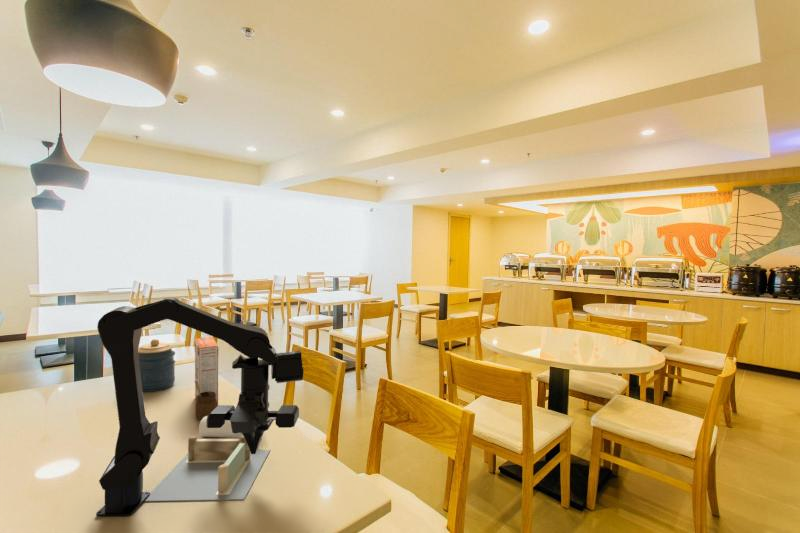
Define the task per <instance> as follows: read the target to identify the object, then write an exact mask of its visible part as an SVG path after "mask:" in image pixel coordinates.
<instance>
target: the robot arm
mask: <svg viewBox="0 0 800 533" xmlns="http://www.w3.org/2000/svg"><path fill="white" fill-rule="evenodd" d="M165 320H170V321H172V322H175V323H178V324H179V325H182V326H186V327H188V328H190V329H192V330H195V331H197V332H198V331H199V332H201V333H203V334H206V335H209V336H211V337H213V338H216V339H219V340H221V341H223V342H225V343H227V344H228V345H229V346H230V347H231V348H234V349H235V350H236V351H238V352H239V353H240V354H239V355H238V357H237V358H236V359H235V360H233V361H232V364H231V367H232V369H233V370H235V369H240V370H241V371H240V380H241V381H240V393H239V394H238V395H239V396H238V402H237V404H236V407H235V406H234V404H233V405H232V404H229V405H227V404H226V405H225V404H223V405H219V404H218V406H217V407H216V408H215V409H214V410H213V411H212V412H211V413H210V414H209V415H208V417H207V428H221V427H222V426H223V425H224V424H225V420H230V422H231V428H232V432H233V433H242V434H243V436H244V437H245V439H246V442H247V444H248V447H249V449H250V452H251V454H256V452H257V450H259V446H260V443H261V441H262V438H263V435H264V433H265V432H266V431H268V430H269V429H270V427H271V425H272V424H273V422H274V421H275V425H276V426H277V427H278V428H285V429H286V428H294V427H295V425H296V423H297V421H298V419H299V416H300V408H299V407H298V406H297V405H296V404H289V405H288V404H285V405H284V404H282V405H281V406H280V407H279V409H278V410H272V409H269V408H270V402H269V390H270V384H269V377H270V376H271V380H274V382H276V384H281V383H283V384H284V383H291V382H300V381H303V380H304V367H303V359H302V352H301V351H300V350H294V351H293V350H292V351H288V352H277V351H276V348H275V347H273V346H272V345H271V343H270V339H269V336H268V332H267V331H266V330H265V329H263V328H262V327H257V326H254V325H249V324H245V323H244V324H243V323H237V322H232V321H231V320H227V319H224V318H222V317H220V316H217V315H215V314H214V313H213V314H212V313H210V312H208V311H205V310H203V309H200V308H198V307H196V306H193V305H190V304H187V303H186V302H183V301H181V300H180V299H179V298H176V297H174V296H168V297H166V298H164V299H162V300H158V301H155V302H151V303H146V304H143V305H140V306H136V307H133V306H130V305H129V306H120V307H116V308H115V309H113V310H111V311H109V312H106V313H105V314H103V315H102V317H101V318H100V319H99V320H98V322H97V331H98V335H99V337H100V340H101V343H102V346H103V347H104V348H105V350H106V351H107V352H106V353H108V355H109V356H110V359H111V368H112V375H113V383H114V390H115V401H116V407H117V408H116V409H117V417H118V424H119V425H118V426H119V428H118V429H119V430H118V435H117V439H116V443H115V449H114V456H113V457H112V459H111V460H110V462H109V464H108V465H107V467H106V469H105V471H104V472H103V473H102V475H101V476H100V479H99V480H98V482H99V485H100V487H101V489H102V490H104V505H102V507H101V508H100V509H99V510H98V511H97V512H96V513H95V514H96V515H95V516H96V517H122V516H123V517H128V516H132V515H133V514H134V513H135V511H137V510H138V508H139V507H140V506H141V505H142V504H143V503H145V502H144V501H145V500H146V499H147V497H148V496H149V495H150V493H151V491H143V489H144V474H143V473H144V472H143V470H144V469H145V468H146V467H147V465H149V462H150V460H151V458H152V455H154V453H155V450H156V448H157V446H158V443H159V441H160V439H161V437H160V436H159V434H158V425H159V424H158V420H156V421H153V422H150V421H149V420H148V418H147V417H146V411H145V410H146V409H145V401H144V392H143V391H142V382H141V373H140V365H139V356H138V348H140V347H139V346H140V342H141V337H142V331H143V328H145V327H148V326H151V325H154V324H156V323H158V322H159V323H160V322H161V321H165ZM242 354H243V355H244V356H246V357H244V356H243V355H242ZM269 369H270V370H269ZM269 371H271V373H269ZM269 374H271V375H270V376H269Z"/></svg>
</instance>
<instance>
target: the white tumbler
mask: <svg viewBox="0 0 800 533" xmlns="http://www.w3.org/2000/svg"><path fill="white" fill-rule="evenodd" d="M207 417H208V416H205V417H203V418H202V420H200V422H199V425H198V433H199V436H200V437H203V438H221V439H240V436H242V435H243V434H242V433H233V432H232V428H231V422H230V420H225V424H224V425H223V426H222V427H221V428H207Z"/></svg>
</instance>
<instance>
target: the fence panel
mask: <svg viewBox="0 0 800 533" xmlns="http://www.w3.org/2000/svg"><path fill="white" fill-rule="evenodd" d="M244 462H245V443H240V444H239V445H238V446H237V447H236V449H235V450H234V451H233V453H232V454H231V455H230V457H229V458H228V459H227V461H226V462H225V463H224V465H220V466H219V467H218V492H220V493H222V492H225V491H226V490H227V487H228V485H229V484H230V482H231V481H232V480H233V478H234V477H235V475H236V474H237V472H238V471H239V469H240V468H241V466H242V465H243V463H244Z"/></svg>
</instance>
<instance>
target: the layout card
mask: <svg viewBox="0 0 800 533" xmlns="http://www.w3.org/2000/svg"><path fill="white" fill-rule="evenodd" d="M270 452H271V449H257V452H256V454H251V452H250V459H249V460H247V461H245V462H244V463H243V465H242V466H241V468H240V469H239V471H238V472H237V474H236V475H235V477H234V478H233V480H232V481H231V482H230V484H229V485H228V487H227V490H226V491H225V492H222V493H220V492H218V467H219V466H220V465H224V463H225V462H226V461H227V460H203V461H188V453H186V454H185V455H184V457H183V458H182V459H180V461H179V462H178V463H177V464H176V465H175V466H174V467H173V469H171V470H170V472H168V474H167V475H165V477H164V478H162V480H161V481H160V482H159V484H157V485H156V487H155V488H154V489H153V490H152V491H150V495H149V496H148V497H147V499H146V500H145V501H144V502H143V503H148V502H150V503H151V502H152V503H153V502H154V503H155V502H156V503H157V502H199V501H200V502H204V501H207V502H208V501H213V502H214V501H215V502H216V501H245V499H246V497H247V495H248V493H249V492H250V490H251V488H252V486H253V484H254V482H255V480H256V478H257V476H258V474H259V473H260V471H261V469H262V467H263V465H264V463H265V461H266V459H267V458H268V455H269V454H270Z"/></svg>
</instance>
